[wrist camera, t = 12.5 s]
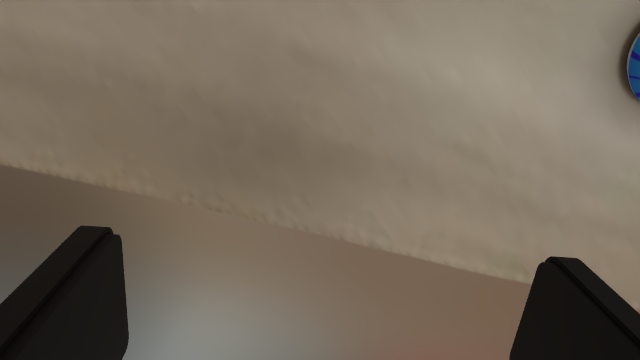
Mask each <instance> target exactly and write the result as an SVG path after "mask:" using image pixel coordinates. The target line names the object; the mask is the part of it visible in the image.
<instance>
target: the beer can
mask: <svg viewBox="0 0 640 360" xmlns="http://www.w3.org/2000/svg"><path fill="white" fill-rule="evenodd" d="M627 74H628V79H629V84H630V87H631V89H632V91H633V93H634V95H635V96H636V97H637V98H638V99H639V100H640V33H639V34H638V35H637V37H636V38H635V40H634V42H633V44H632V46H631V48H630V51H629V54H628V58H627Z"/></svg>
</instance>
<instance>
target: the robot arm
mask: <svg viewBox="0 0 640 360" xmlns="http://www.w3.org/2000/svg"><path fill="white" fill-rule="evenodd" d="M123 267H124V266H123V253H122V242H121V237H120V236H119V235H116V234H113V231H112V229H111V228H110V227H96V226H80V227H78V228H77V229H76V230H75V231H74V232H73V233H72V234H71V235H70V236H69V237H68V238H67V239H66V240H65V241H64V242H63V243H62V244H61V245H60V246H59V247H58V248H57V249H56V250H55V251H54V252H53V253H52V254H51V255H50V256H49V257H48V258H47V259H46V260H45V261H44V262H43V263H42V264H41V265H40V266H39V267H38V268H37V269H36V270H35V271H34V272H33V273H32V274H31V275H30V276H29V277H28V278H27V279H26V280H25V281H24V282H23V283H22V284H20V285H19V287H17V288H16V289H15V290H14V292H12V293H11V295H9V296H8V297H7V298H6V299H5V300H4V301H3V302H2V303H1V304H0V360H122V358H123V356H124V354H125V352H126V349H127V345H128V339H129V333H128V319H127V306H126V293H125V280H124V268H123ZM510 360H640V314H639V313H638V312H637V311H636V310H635V309H633V308H632V307H631V306H630V305H629V304H628V303H627V302H626V301H625V300H624V299H622V298H621V297H620V296H619V295H618V294H617V293H616V292H615V291H614V290H613V289H611V288H610V287H609V286H608V285H607V284H606V283H605V282H604V281H603V280H602V279H600V278H599V277H598V276H597V275H596V274H595V273H594V272H593V271H592V270H591V269H589V268H588V267H587V266H586V265H585V264H584V263H583V262H582V261H581V260H579V259H577V258H567V257H552V256H551V257H549V258H547V260H546V261H545V262H542V263H540V264H539V266H538V268H537V271H536V274H535V277H534V280H533V283H532V286H531V289H530V293H529V296H528V299H527V302H526V305H525V308H524V311H523V315H522V318H521V321H520V324H519V327H518V330H517V333H516V337H515V340H514V343H513V346H512V349H511V352H510Z"/></svg>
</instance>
